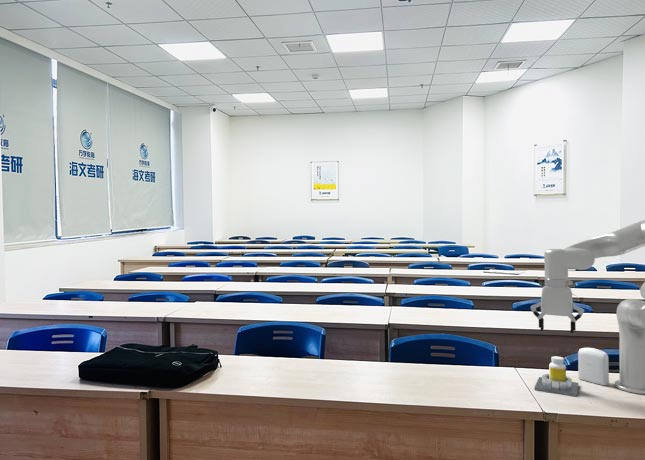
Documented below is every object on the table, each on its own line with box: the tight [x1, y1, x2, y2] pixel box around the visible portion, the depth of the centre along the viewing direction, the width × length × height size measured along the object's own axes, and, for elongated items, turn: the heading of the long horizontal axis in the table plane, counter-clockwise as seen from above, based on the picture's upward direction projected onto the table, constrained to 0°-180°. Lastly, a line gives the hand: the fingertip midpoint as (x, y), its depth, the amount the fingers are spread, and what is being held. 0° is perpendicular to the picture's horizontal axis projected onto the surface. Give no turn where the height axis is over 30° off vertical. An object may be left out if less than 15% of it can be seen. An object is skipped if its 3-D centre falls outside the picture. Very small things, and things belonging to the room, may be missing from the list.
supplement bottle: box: [548, 355, 567, 381], centre depth 167 cm, size 5×5×10 cm
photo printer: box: [577, 347, 610, 386], centre depth 174 cm, size 10×4×12 cm, turn 32°
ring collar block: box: [534, 373, 579, 397], centre depth 168 cm, size 13×13×4 cm
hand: (556, 331), depth 168 cm, fingers open, 9 cm apart
